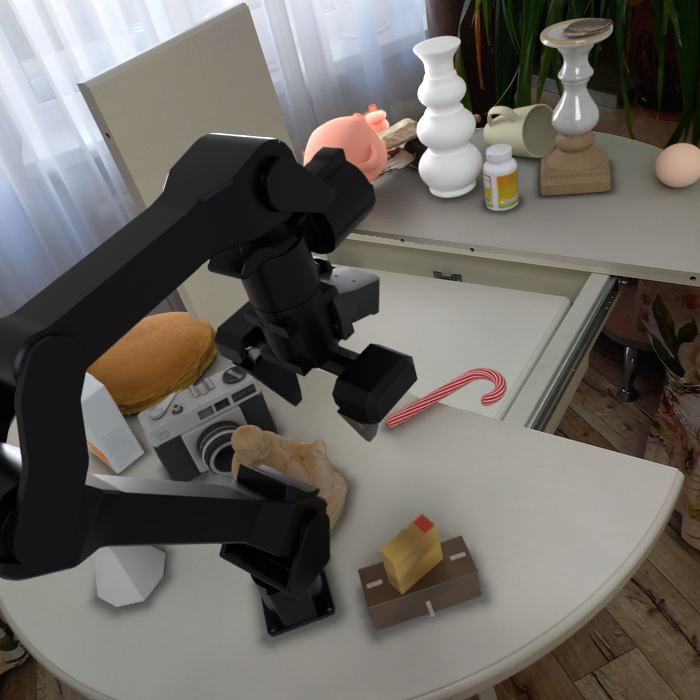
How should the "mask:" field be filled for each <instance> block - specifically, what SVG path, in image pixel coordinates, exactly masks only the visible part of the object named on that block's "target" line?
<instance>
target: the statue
mask: <svg viewBox="0 0 700 700" xmlns="http://www.w3.org/2000/svg"><path fill="white" fill-rule="evenodd" d="M231 444H232V447H233V449H234V450H235V454H234V456H233V461H232V474H231V475H232V477H233V479H234V478H235V477H237V474H238V469H239V465H240V463H242V464H244V465H247V466H249V467H258V466H260V465H263V464H264V465H266V466H268V467H271V468H273V469H275V470H277V471H280V472H282V473H284V474H287V475H289V476H291V477H294V478H296V479H298V480H301V481H303V482H305V483H308V484H310V485H312V486H315V487H317V488H319V489H320V492H319V493H318V496H320V497H322V498H324V499H325V500H326V501H327V504H328V506H327V507H326V509H327V512H326V514H327V515H328V516H329V518H330V532H331V531H332V529H333V528H334V527H335V525H336V523H337V522H338V520H339V518H340V516H341V514H342V512H343V510H344V508H345V503H346V498H347V495H348V490H349V489H348V488H349V487H348V484H347V482H346V480H345V479H344V478H343V476H342V475H341V474H340V473H339V472H337V471H336V470H335V469H334V468H333V466H332V463H331V461H330V458H329V456H328V454H327V444H326V441H324V440H323V439H321V438H319V439H315V440H314V441H305V442H301V441H299V440H297V439H294V438H286V437H284V436H281V435H279V434H278V433H276V434H275V433H273V432H270V431H262V430H261V429H260V428H258V427H257V426H254V425H244V426H241V427H239V428H238V429H236V430H235V431H234V433H233V434H232V437H231Z"/></svg>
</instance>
